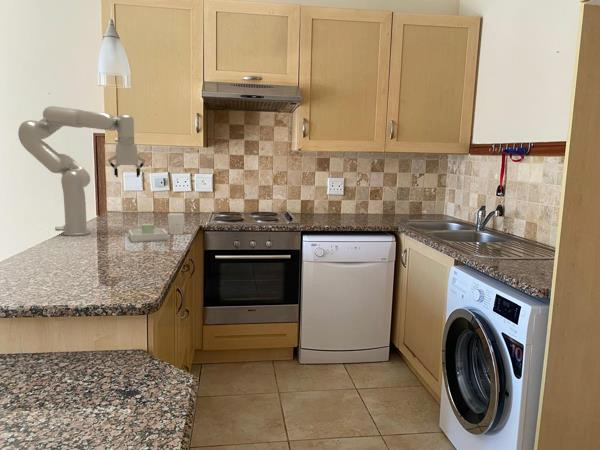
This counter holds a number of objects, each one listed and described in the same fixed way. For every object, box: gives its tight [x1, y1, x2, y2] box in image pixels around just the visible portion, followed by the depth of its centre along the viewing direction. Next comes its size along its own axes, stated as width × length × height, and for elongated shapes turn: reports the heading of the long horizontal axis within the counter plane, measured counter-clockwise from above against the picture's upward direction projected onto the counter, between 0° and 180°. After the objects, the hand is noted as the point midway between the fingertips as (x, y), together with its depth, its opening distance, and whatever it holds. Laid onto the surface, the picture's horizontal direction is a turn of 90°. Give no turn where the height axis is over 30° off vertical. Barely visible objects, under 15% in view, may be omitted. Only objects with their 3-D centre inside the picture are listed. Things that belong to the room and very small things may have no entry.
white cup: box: [167, 212, 185, 236], centre depth 243 cm, size 8×8×10 cm
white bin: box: [128, 227, 169, 243], centre depth 228 cm, size 16×16×4 cm
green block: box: [141, 223, 155, 234], centre depth 228 cm, size 5×5×6 cm
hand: (127, 176), depth 237 cm, fingers open, 9 cm apart
